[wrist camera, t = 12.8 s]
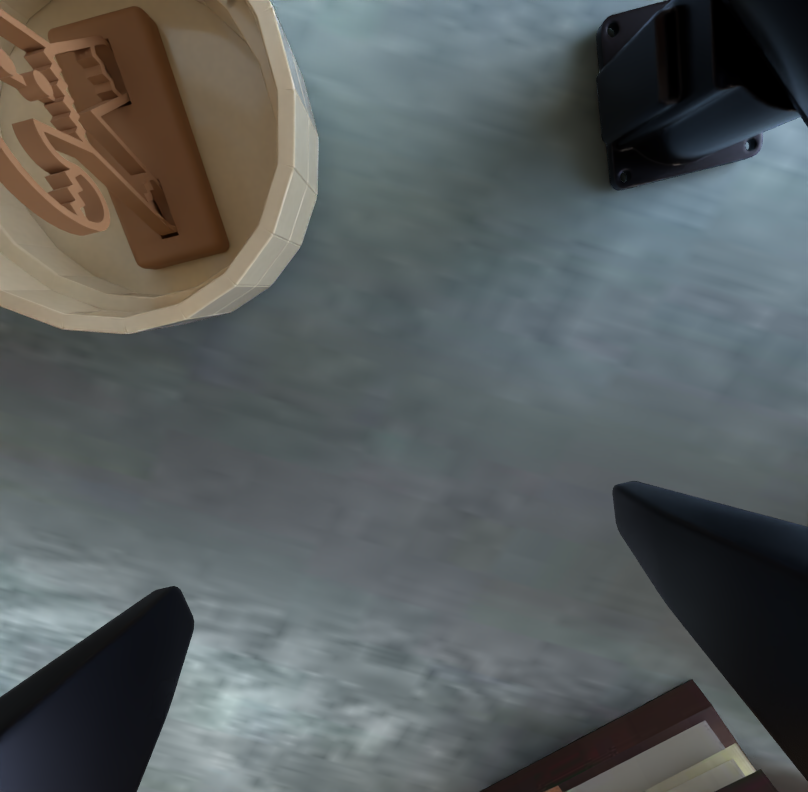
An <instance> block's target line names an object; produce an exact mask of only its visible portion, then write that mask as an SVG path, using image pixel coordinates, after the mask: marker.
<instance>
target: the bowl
mask: <svg viewBox="0 0 808 792" xmlns="http://www.w3.org/2000/svg"><path fill="white" fill-rule="evenodd" d="M131 6H137V7H140V8H141V9H143V10H144V11H145V12H146V13H147V14H148V15H149V16H150V17H151V19H152V20H153V21H154V22H155V23H156V25H157V27H158V30H159V33H160V36H161V39H162V42H163V45H164V48H165V51H166V54H167V57H168V60H169V63H170V66H171V69H172V72H173V75H174V78H175V81H176V84H177V87H178V90H179V93H180V96H181V99H182V102H183V105H184V108H185V111H186V114H187V117H188V120H189V123H190V126H191V129H192V132H193V135H194V138H195V141H196V144H197V147H198V150H199V153H200V156H201V159H202V162H203V165H204V168H205V171H206V174H207V177H208V180H209V183H210V186H211V189H212V192H213V195H214V198H215V201H216V204H217V207H218V210H219V213H220V216H221V219H222V222H223V225H224V228H225V231H226V234H227V237H228V240H229V249H228V250H227V251H226V252H223V253H220V254H216V255H212V256H208V257H204V258H200V259H196V260H192V261H188V262H184V263H180V264H176V265H173V266H169V267H165V268H161V269H156V270H154V269H144V268H141V267H140V266H138V265H137V263H136V261H135V258H134V256H133V253H132V251H131V248H130V246H129V243H128V241H127V238H126V236H125V233H124V230H123V228H122V225H121V223H120V220H119V218H118V215H117V213H116V210H115V208H114V205H113V203H112V200H111V197H110V195H109V192H108V190H107V187H106V186H105V185H104V184H103V183H102V182H101V181H100V180H98V179H97V178H96V177H95V176H94V175H93V174H92V173H91V172H90V171H89V170H88V169H87V168H86V167H84V166H83V165H82V164H81V163H80V162H79V161H78V160H77V159H76V158H74V157H71V156H69V155H66V154H64V153H61V152H59V151H57V152H58V153H59V154H60V155H61V156H62V157H63V158H64V159H66V160H68V161H70V162H72V163H74V164H76V165H77V166H79V167H80V168H81V169H82V170H83V171H85V172H86V173H87V174H88V175H89V177H90V178H91V179H92V180H93V181H94V183H95V184H96V185H97V187H98V188H99V190H100V191H101V193H102V195H103V197H104V199H105V201H106V203H107V206H108V209H109V213H110V224H109V227H108V228H107V229H106V230H104V231H100V232H96V233H93V234H89V235H85V236H79V235H75V234H71V233H68V232H66V231H63V230H61V229H59V228H57V227H55V226H53V225H51V224H50V223H48V222H46V221H45V220H43V219H42V218H40V217H39V216H38V215H36V214H35V213H33V212H32V211H31V210H30V209H28V208H27V207H26V206H25V205H24V204H22V203H21V202H20V201H19V200H18V199H17V198H16V197H15V196H14V195H13V194H11V193H10V192H9V191H8V190H7V189H6V188H5V186H4V185H3V184H2V183H1V182H0V306H1V307H3V308H6V309H9V310H11V311H14V312H17V313H19V314H22V315H25V316H27V317H30V318H33V319H35V320H38V321H41V322H44V323H46V324H49V325H52V326H54V327H57V328H60V329H65V330H73V331H87V332H100V333H114V334H133V333H138V332H144V331H149V330H155V329H161V328H166V327H172V326H177V325H183V324H188V323H192V322H196V321H200V320H204V319H208V318H212V317H216V316H220V315H224V314H228V313H231V312H233V311H235V310H236V309H238V308H239V307H241V306H242V305H244V304H245V303H247V302H248V301H250V300H251V299H253V298H254V297H256V296H257V295H259V294H260V293H262V292H263V291H265V290H266V289H268V288H269V287H270V286H272V285H273V283H274V282H275V281H276V279H277V278H278V277H279V275H280V274H281V273H282V271H283V270H284V269H285V267H286V266H287V265H288V263H289V262H290V261H291V259H292V258H293V257H294V255H295V254H296V253H297V251H298V250H299V249H300V246H301V245H302V242H303V239H304V236H305V233H306V230H307V227H308V224H309V220H310V217H311V214H312V211H313V208H314V205H315V202H316V199H317V196H316V195H317V194H318V153H319V139H318V132H317V128H316V125H315V121H314V117H313V113H312V109H311V105H310V102H309V98H308V94H307V90H306V86H305V82H304V79H303V76H302V74H301V71H300V69H299V67H298V64H297V62H296V60H295V57H294V55H293V52H292V50H291V48H290V46H289V43H288V41H287V38H286V36H285V34H284V31H283V29H282V27H281V24H280V22H279V20H278V17H277V15H276V12H275V10H274V8H273V5H272V3H271V2H270V0H0V8H1V9H2V10H4V11H5V12H6V13H8V14H9V15H11V16H12V17H13V18H15V19H16V20H18V21H19V22H20V23H22V24H23V25H25V26H26V27H28V28H29V29H30V30H32V31H33V32H35V33H36V34H37V35H39V36H40V37H42V38H43V39H44V40H46V41H47V42H49V40H48V31H49V30H50V29H52V28H56V27H59V26H63V25H66V24H70V23H74V22H77V21H81V20H84V19H88V18H92V17H95V16H99V15H102V14H106V13H110V12H113V11H117V10H120V9H124V8H127V7H131ZM0 48H1V49H2V50H3V51H4V52H5V53H6V54H7V55H8V56H9V57H10V59H11V60H12V62H13V64H14V66H15V68H16V73H18V74H22V73H26V72H29V71H32V70H33V68H32V67H31V66H30V64H29V63H28V62H27V61H26V59H25V58H24V56H25V54H26V52H25V51H23V50H21V49H20V48H18V47H17V46H15V45H14V44H12V43H11V42H9V41H7V40H6V39H4V38H3V37H1V36H0ZM53 59H54V60H55V62H56V63H57V60H56V58H55V56H54V58H53ZM57 64H58V63H57ZM58 66H59V65H58ZM60 76H61V77H62V78H63V76H62V73H60ZM63 80H64V78H63ZM66 91H67V93H68V94H69V95H70V93H69V91H68V88H67V89H66ZM70 97H71V96H70ZM72 107H73V108H74V109H75V106H74V104H73V105H72ZM75 110H76V109H75ZM76 112H77V111H76ZM52 117H53V116H52V115H51V114H50V113H49V112H48V110H47V109H46V108H45V107H44V103H42V102H41V101H39V100H36V101H32V102H30V101H28V100H26V99H25V98H24V97H23V96H22V95H21V94H20V93H19V91H18V90H17V89H16V88H14V87H12V86H10V85H8V84H6V83H5V82H3V81H1V80H0V136H1V138H2V139H3V140H4V142H5V143H6V145H7V146H8V148H9V149H10V151H11V152H12V154H13V155H14V156H15V157H16V159H17V160H18V161H19V163H20V164H21V165H22V167H23V168H24V169H25V170H26V171H27V172H28V173H29V175H30V176H31V177H32V178H33V179H34V180H35V181H36V182H37V183H38V184H39V185H40V186H41V187H42V188H43V189H44V190H45V191H46V192H47V193H48V192H50V191H52V190H53V189H52V187H51V186H50V184H49V183H48V182H47V180H46V179H45V177H46V176H48V175H51V174H49V173H48V172H46V171H44V170H43V169H42V168H41V167H39V166H38V165H37V164H36V163H35V162H34V161H33V160H32V159H31V158H30V157H29V155H28V154H27V153H26V152H25V150H24V149H23V147H22V146H21V144H20V143H19V141H18V139H17V137H16V135H15V133H14V130H13V127H12V124H14V123H17V122H21V121H25V120H28V119H32V118H33V119H35V120H38V121H40V122H42V123H44V124H46V125H48V126H50V127H53V128H55V127H54V126H53V124H52V123H51V122H50V121H51V119H52ZM78 122H79V121H78ZM79 123H80V122H79ZM80 124H81V123H80ZM81 126H82V124H81ZM82 127H83V126H82ZM55 129H56V128H55ZM84 137H85V138H86V139H87V137H86V134H85V135H84ZM87 141H88V139H87ZM80 209H81V210H82V212H83V213H84V215H85V216H86V214H85V210H84V208H83V207H82V208H80Z"/></svg>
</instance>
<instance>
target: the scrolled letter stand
mask: <svg viewBox="0 0 808 792" xmlns="http://www.w3.org/2000/svg"><path fill="white" fill-rule="evenodd" d="M0 36H1V37H3V38H4V39H6V40H7V41H9V42H11V43H12V44H14V45H15V46H17V47H18V48H20V49H21V50H23V51H25V52H26V54H25V56H24V58H25V59H26V61H27V62H28V63H29V64H30V66H31V67H32V68H33V70H32V71H29V72H26V73H22V74H18V73H16V68H15V66H14V64H13V62H12V60H11V59H10V57H9V56H8V55H7V54H6V53H5V52H4V51H3V50H2V49H1V48H0V80H1V81H3V82H5V83H6V84H8V85H10V86H12V87H14V88H16V89H17V90H18V91H19V93H20V94H21V95H22V96H23V97H24V98H25V99H26V100H28V101H30V102H32V101H36V100H39V101H41V102H42V103H44V107H45V108H46V109H47V110H48V112H49V113H50V114H51V115H52V116H53V117H52V119H51V121H50V122H51V123H52V124H53V126H54V127H55V128H56V129H55V128H53V127H50V126H48V125H46V124H44V123H42V122H40V121H38V120H35V119H33V118H32V119H28V120H25V121H21V122H17V123H14V124H12V127H13V130H14V133H15V135H16V137H17V139H18V141H19V143H20V144H21V146H22V147H23V149H24V150H25V152H26V153H27V154H28V155H29V157H30V158H31V159H32V160H33V161H34V162H35V163H36V164H37V165H38V166H39V167H41V168H42V169H43V170H44V171H46V172H48V173H49V174H51V175H48V176H46V177H45V179H46V180H47V182H48V183H49V184H50V186H51V187H52V189H53V190H52V191H50V192H48V193H47V192H46V191H45V190H44V189H43V188H42V187H41V186H40V185H39V184H38V183H37V182H36V181H35V180H34V179H33V178H32V177H31V176H30V175H29V173H28V172H27V171H26V170H25V169H24V168H23V167H22V165H21V164H20V163H19V161H18V160H17V159H16V157H15V156H14V155H13V154H12V152H11V151H10V149H9V148H8V146H7V145H6V143H5V142H4V140H3V139H2V138H1V136H0V182H1V183H2V184H3V185H4V186H5V188H6V189H7V190H8V191H9V192H10V193H11V194H13V195H14V196H15V197H16V198H17V199H18V200H19V201H20V202H21V203H22V204H24V205H25V206H26V207H27V208H28V209H30V210H31V211H32V212H33V213H35V214H36V215H38V216H39V217H40V218H42V219H43V220H45V221H46V222H48V223H50V224H51V225H53V226H55V227H57V228H59V229H61V230H63V231H66V232H68V233H71V234H75V235H79V236H85V235H89V234H93V233H96V232H100V231H104V230H106V229H107V228H108V227H109V224H110V213H109V209H108V206H107V203H106V201H105V199H104V197H103V195H102V193H101V191H100V190H99V188H98V187H97V185H96V184H95V183H94V181H93V180H92V179H91V178H90V177H89V175H88V174H87V173H86V172H85V171H83V170H82V169H81V168H80V167H79V166H77V165H76V164H74V163H72V162H70V161H68V160H66V159H64V158H63V157H62V156H61V155H60V154H59V153H58V152H57V151H59V152H61V153H64V154H66V155H69V156H71V157H74V158H76V159H77V160H78V161H79V162H80V163H81V164H82V165H83V166H84V167H86V168H87V169H88V170H89V171H90V172H91V173H92V174H93V175H94V176H95V177H96V178H97V179H98V180H100V181H101V182H102V183H103V184H104V185H105V186H106V187H107V190H108V192H109V195H110V197H111V200H112V203H113V205H114V208H115V210H116V213H117V215H118V218H119V220H120V223H121V225H122V228H123V230H124V233H125V236H126V238H127V241H128V243H129V246H130V248H131V251H132V253H133V256H134V258H135V261H136V263H137V265H138V266H140V267H141V268H144V269H154V270H156V269H161V268H165V267H169V266H173V265H176V264H180V263H184V262H188V261H192V260H196V259H200V258H204V257H208V256H212V255H216V254H220V253H223V252H226V251H227V250H228V249H229V240H228V237H227V234H226V231H225V228H224V225H223V222H222V219H221V216H220V213H219V210H218V207H217V204H216V201H215V198H214V195H213V192H212V189H211V186H210V183H209V180H208V177H207V174H206V171H205V168H204V165H203V162H202V159H201V156H200V153H199V150H198V147H197V144H196V141H195V138H194V135H193V132H192V129H191V126H190V123H189V120H188V117H187V114H186V111H185V108H184V105H183V102H182V99H181V96H180V93H179V90H178V87H177V84H176V81H175V78H174V75H173V72H172V69H171V66H170V63H169V60H168V57H167V54H166V51H165V48H164V45H163V42H162V39H161V36H160V33H159V30H158V27H157V25H156V23H155V22H154V21H153V20H152V19H151V17H150V16H149V15H148V14H147V13H146V12H145V11H144V10H143V9H141V8H140V7H137V6H131V7H127V8H124V9H120V10H117V11H113V12H110V13H106V14H102V15H99V16H95V17H92V18H88V19H84V20H81V21H77V22H74V23H70V24H66V25H63V26H59V27H56V28H52V29H50V30H49V31H48V40H49V42H47V41H46V40H44V39H43V38H42V37H40V36H39V35H37V34H36V33H35V32H33V31H32V30H30V29H29V28H28V27H26V26H25V25H23V24H22V23H20V22H19V21H18V20H16V19H15V18H13V17H12V16H11V15H9V14H8V13H6V12H5V11H4V10H2V9H1V8H0ZM54 56H55V58H56V60H57V63H58V64H57V63H56V62H55V60H54V59H53V58H54ZM58 65H59V66H58ZM60 73H62V76H63V78H64V80H63V78H62V77H61V76H60ZM67 88H68V91H69V93H70V95H69V94H68V93H67V91H66V89H67ZM70 96H71V97H70ZM73 104H74V106H75V109H76V110H75V109H74V108H73V107H72V105H73ZM76 111H77V112H76ZM78 121H79V122H80V123H81V124H82V126H83V127H82V126H81V124H80V123H79V122H78ZM85 134H86V137H87V139H88V141H87V139H86V138H85V137H84V135H85ZM82 207H83V208H84V210H85V214H86V216H85V215H84V213H83V212H82V210H81V209H80V208H82Z"/></svg>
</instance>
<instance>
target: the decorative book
mask: <svg viewBox="0 0 808 792" xmlns="http://www.w3.org/2000/svg"><path fill="white" fill-rule="evenodd" d="M481 792H778V791H777V790H776V789H775V787H774V786H773V785H772V783H771V782H770V781H769V779H768V778H767V777H766V775H765V774H764V773H763V772H762V770H761V769H760V770H758V771H756V770H755V768H754V767H753V765H752V764H751V762H750V761H749V760H748V758H747V757H746V755H745V754H744V752H743V751H742V749H741V748H740V746H739V745H738V743H737V742H736V740H735V739H734V737H733V736H732V734H731V733H730V731H729V730H728V728H727V727H726V725H725V724H724V722H723V721H722V719H721V718H720V717H719V715H718V714H717V712H716V711H715V709H714V708H713V706H712V705H711V703H710V702H709V701H708V700H707V698H706V697H705V696H704V694H703V693H702V692H701V690H700V689H699V688H698V686H697V685H696V684H695V682H694V681H693V680H690V681H689V682H687V683H685V684H683V685H681V686H679V687H677V688H675V689H673V690H672V691H670V692H668V693H666V694H664V695H662V696H660V697H658V698H656V699H655V700H653V701H651V702H649V703H647V704H645V705H643V706H641V707H639V708H638V709H636V710H634V711H632V712H630V713H628V714H626V715H624V716H622V717H621V718H619V719H617V720H615V721H613V722H611V723H609V724H607V725H605V726H604V727H602V728H600V729H598V730H596V731H594V732H592V733H590V734H588V735H587V736H585V737H583V738H581V739H579V740H577V741H575V742H573V743H571V744H569V745H568V746H566V747H564V748H562V749H560V750H558V751H556V752H554V753H552V754H551V755H549V756H547V757H545V758H543V759H541V760H539V761H537V762H535V763H534V764H532V765H530V766H528V767H526V768H524V769H522V770H520V771H518V772H517V773H515V774H513V775H511V776H509V777H507V778H505V779H503V780H501V781H500V782H498V783H496V784H494V785H492V786H490V787H488V788H486V789H484V790H483V791H481Z"/></svg>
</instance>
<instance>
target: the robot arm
mask: <svg viewBox="0 0 808 792" xmlns="http://www.w3.org/2000/svg"><path fill="white" fill-rule="evenodd" d="M607 28H611V29H612V30H613V31H614V37H610V36H609V35H608V33H607ZM596 41H597V51H598V62H599V72H600V73H599V74H598V76H597V90H598V100H599V111H600V121H601V131H602V140H603V141H604V142H605V143H606V145H607V156H608V166H609V177H610V183H611V186H612V187H613V188H614V189H615V190H625V189H629V188H633V187H637V186H641V185H645V184H649V183H653V182H657V181H661V180H665V179H669V178H673V177H677V176H681V175H685V174H689V173H693V172H697V171H701V170H705V169H709V168H713V167H717V166H721V165H725V164H729V163H733V162H737V161H740V160H744V159H747V158H750V157H752V156H754V155H756V154H757V153H758V152H759V151H760V149H761V147H762V142H763V132H765V131H768V130H770V129H773V128H775V127H777V126H780V125H782V124H785V123H787V122H789V121H792V120H794V119H797V118H799V117H801V118H802V119H803V121H804V122H805V124H806V125H807V126H808V0H667V1H663V2H660V3H656V4H652V5H648V6H645V7H641V8H637V9H633V10H630V11H626V12H622V13H618V14H615V15H611V16H610V17H608V18H607V19H606V20H605V21H604V22H603V23H602V25H601V26H600V27H599V29H598V31H597V36H596ZM746 142H748V143H749V149H748V150H747V149H746V147H745V144H746ZM622 172H624V173H625V174H626V176H627V178H626V181H625V182H622V181H621V179H620V174H621V173H622ZM613 501H614V510H615V518H616V524H617V527H618V530H619V532H620V534H621V536H622V537H623V539H624V540H625V542H626V543H627V545H628V546H629V548H630V549H631V551H632V553H633V554H634V556H635V557H636V559H637V560H638V562H639V563H640V565H641V566H642V568H643V570H644V571H645V573H646V574H647V576H648V577H649V579H650V580H651V582H652V583H653V585H654V587H655V588H656V590H657V591H658V593H659V594H660V596H661V597H662V599H663V600H664V601H665V603H666V604H667V606H668V607H669V608H670V609H671V611H672V612H673V613H674V615H675V616H676V617H677V618H678V620H679V621H680V622H681V623H682V625H683V626H684V627H685V628H686V630H687V631H688V632H689V633H690V635H691V636H692V637H693V638H694V640H695V641H696V642H697V643H698V645H699V646H700V647H701V648H702V650H703V651H704V652H705V653H706V655H707V656H708V657H709V658H710V660H711V661H712V662H713V664H714V665H715V666H716V667H717V669H718V670H719V671H720V672H721V674H722V675H723V676H724V677H725V679H726V680H727V681H728V682H729V684H730V685H731V686H732V687H733V689H734V690H735V691H736V692H737V694H738V695H739V696H740V697H741V699H742V700H743V701H744V702H745V704H746V705H747V706H748V707H749V709H750V710H751V711H752V712H753V714H754V715H755V716H756V717H757V719H758V720H759V721H760V722H761V724H762V725H763V726H764V727H765V729H766V730H767V731H768V732H769V734H770V735H771V736H772V737H773V739H774V740H775V741H776V742H777V744H778V745H779V746H780V747H781V749H782V750H783V751H784V752H785V754H786V755H787V756H788V757H789V759H790V760H791V761H792V762H793V764H794V765H795V766H796V767H797V769H798V770H799V771H800V772H801V774H802V775H803V776H804V777H805V779H806V780H807V781H808V527H806V526H803V525H799V524H795V523H791V522H788V521H784V520H780V519H776V518H773V517H769V516H765V515H761V514H758V513H754V512H750V511H746V510H743V509H739V508H735V507H731V506H728V505H724V504H720V503H716V502H713V501H709V500H705V499H701V498H698V497H694V496H690V495H687V494H683V493H679V492H675V491H672V490H668V489H664V488H660V487H657V486H653V485H649V484H645V483H642V482H638V481H630V482H626V483H622V484H617V485H615V486H614V488H613ZM193 630H194V619H193V615H192V613H191V611H190V609H189V607H188V605H187V602H186V600H185V598H184V596H183V594H182V592H181V590H180V589H179V588H178V587H175V586H172V587H167V588H163V589H158V590H155V591H153V592H152V593H150V594H149V595H147V596H146V597H145V598H143V599H142V600H140V601H139V602H137V603H136V604H134V605H133V606H132V607H130V608H129V609H127V610H126V611H124V612H123V613H121V614H120V615H119V616H117V617H116V618H114V619H113V620H111V621H110V622H108V623H107V624H105V625H104V626H103V627H101V628H100V629H98V630H97V631H95V632H94V633H92V634H91V635H90V636H88V637H87V638H85V639H84V640H82V641H81V642H79V643H78V644H77V645H75V646H74V647H72V648H71V649H69V650H68V651H66V652H65V653H64V654H62V655H61V656H59V657H58V658H56V659H55V660H53V661H52V662H50V663H49V664H48V665H46V666H45V667H43V668H42V669H40V670H39V671H37V672H36V673H35V674H33V675H32V676H30V677H29V678H27V679H26V680H24V681H23V682H22V683H20V684H19V685H17V686H16V687H14V688H13V689H11V690H10V691H8V692H7V693H6V694H4V695H3V696H1V697H0V792H137V790H138V787H139V785H140V782H141V780H142V777H143V775H144V772H145V770H146V767H147V765H148V762H149V760H150V757H151V755H152V752H153V750H154V747H155V745H156V742H157V740H158V737H159V734H160V732H161V729H162V727H163V724H164V722H165V719H166V716H167V714H168V711H169V708H170V705H171V702H172V699H173V696H174V692H175V689H176V686H177V683H178V679H179V676H180V673H181V670H182V666H183V663H184V660H185V656H186V653H187V650H188V647H189V643H190V640H191V637H192V634H193Z"/></svg>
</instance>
